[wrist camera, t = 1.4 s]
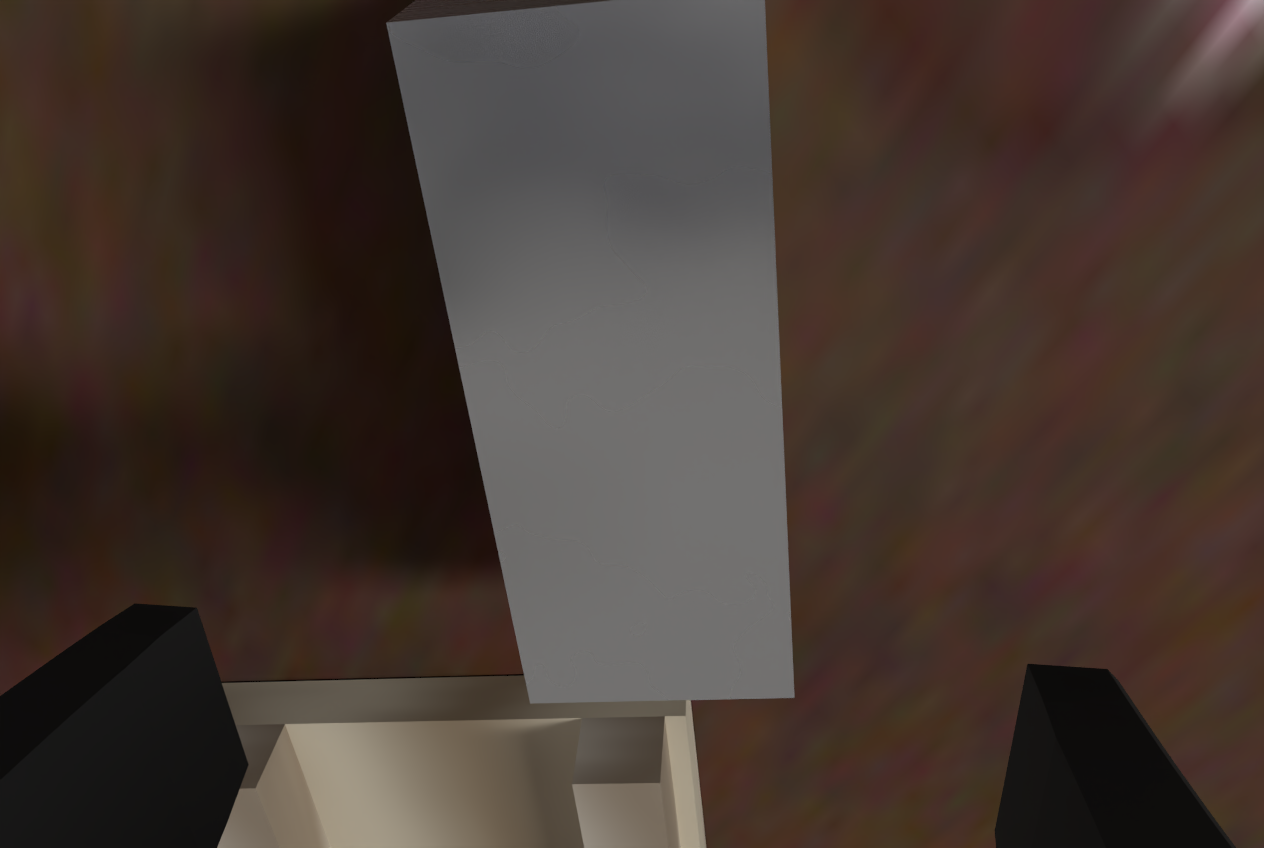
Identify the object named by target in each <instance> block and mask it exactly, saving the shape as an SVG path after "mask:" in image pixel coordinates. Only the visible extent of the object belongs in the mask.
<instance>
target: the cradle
mask: <svg viewBox="0 0 1264 848" xmlns="http://www.w3.org/2000/svg"><path fill="white" fill-rule="evenodd" d="M222 686H223V689H224V692H225V695H226V698H227V701H228V704H229V707H230V710H231V713H232V716H233V719H234V722H235V725H236V728H237V731H238V734H239V737H240V740H241V743H242V746H243V749H244V752H245V755H246V758H247V761H248V764H249V765H248V768H247V770H246V773H245V776H244V779H243V781H242V784H241V787H240V789H239V792H238V795H237V798H236V800H235V803H234V806H233V808H232V811H231V814H230V817H229V819H228V822H227V825H226V827H225V830H224V832H223V834H222V837H221V839H220V842H219V844H218V847H217V848H706V839H705V830H704V821H703V811H702V802H701V793H700V783H699V774H698V765H697V755H696V746H695V737H694V727H693V718H692V709H691V700H669V701H624V702H578V703H533V704H530V700H529V696H528V691H527V686H526V681H525V677H524V675H520V676H481V677H441V678H401V679H362V680H322V681H282V682H243V683H222Z"/></svg>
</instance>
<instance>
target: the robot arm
mask: <svg viewBox="0 0 1264 848" xmlns="http://www.w3.org/2000/svg"><path fill="white" fill-rule="evenodd" d="M248 765H249V764H248V761H247V758H246V755H245V752H244V749H243V746H242V743H241V740H240V737H239V734H238V731H237V728H236V725H235V722H234V719H233V716H232V713H231V710H230V707H229V704H228V701H227V698H226V695H225V692H224V689H223V686H222V683H221V680H220V677H219V673H218V670H217V667H216V664H215V661H214V658H213V655H212V652H211V649H210V646H209V643H208V640H207V637H206V634H205V631H204V628H203V625H202V622H201V619H200V616H199V613H198V610H197V608H192V607H177V606H162V605H147V604H134V605H132V606H130V607H129V608H127V609H126V610H124V611H123V612H121V613H119V614H118V615H116V616H115V617H113V618H112V619H110V620H108V621H107V622H105V623H104V624H102V625H101V626H100V627H98V628H97V629H95V630H94V631H92V632H91V633H89V634H88V635H86V636H85V637H83V638H82V639H81V640H79V641H78V642H76V643H75V644H73V645H72V646H70V647H69V648H68V649H66V650H65V651H63V652H62V653H60V654H59V655H58V656H56V657H55V658H53V659H52V660H50V661H49V662H48V663H46V664H45V665H43V666H42V667H41V668H39V669H38V670H36V671H35V672H34V673H32V674H31V675H29V676H28V677H27V678H25V679H24V680H22V681H21V682H20V683H18V684H17V685H15V686H14V687H12V688H11V689H10V690H8V691H7V692H5V693H4V694H3V695H1V696H0V848H217V847H218V844H219V842H220V839H221V837H222V834H223V832H224V830H225V827H226V825H227V822H228V819H229V817H230V814H231V811H232V808H233V806H234V803H235V800H236V798H237V795H238V792H239V789H240V787H241V784H242V781H243V779H244V776H245V773H246V770H247V768H248ZM995 838H996V848H1236V847H1235V846H1234V844H1233V843H1232V842H1231V840H1230V839H1229V838H1228V836H1227V835H1226V834H1225V832H1224V831H1223V830H1222V828H1221V827H1220V826H1219V824H1218V823H1217V822H1216V820H1215V819H1214V817H1213V816H1212V815H1211V813H1210V812H1209V810H1208V809H1207V808H1206V806H1205V805H1204V803H1203V802H1202V801H1201V799H1200V798H1199V797H1198V795H1197V794H1196V792H1195V791H1194V790H1193V788H1192V787H1191V785H1190V784H1189V783H1188V781H1187V780H1186V778H1185V777H1184V776H1183V774H1182V773H1181V771H1180V770H1179V769H1178V767H1177V766H1176V764H1175V763H1174V761H1173V760H1172V759H1171V757H1170V756H1169V754H1168V753H1167V751H1166V750H1165V749H1164V747H1163V746H1162V744H1161V743H1160V741H1159V740H1158V738H1157V737H1156V736H1155V734H1154V733H1153V731H1152V730H1151V728H1150V727H1149V725H1148V724H1147V722H1146V721H1145V719H1144V718H1143V716H1142V715H1141V714H1140V712H1139V711H1138V709H1137V708H1136V706H1135V705H1134V703H1133V702H1132V700H1131V699H1130V697H1129V696H1128V694H1127V693H1126V691H1125V690H1124V688H1123V687H1122V685H1121V684H1120V682H1119V681H1118V680H1117V679H1116V678H1115V677H1114V676H1113V675H1112V674H1111V673H1110V671H1109V670H1108V669H1096V668H1081V667H1067V666H1052V665H1037V664H1028V665H1027V670H1026V675H1025V680H1024V685H1023V690H1022V695H1021V700H1020V706H1019V711H1018V716H1017V721H1016V726H1015V731H1014V736H1013V741H1012V746H1011V751H1010V756H1009V762H1008V767H1007V772H1006V777H1005V782H1004V787H1003V792H1002V797H1001V802H1000V807H999V812H998V818H997V823H996V828H995Z"/></svg>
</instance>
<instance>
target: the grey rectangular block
mask: <svg viewBox="0 0 1264 848" xmlns="http://www.w3.org/2000/svg"><path fill="white" fill-rule="evenodd" d="M386 24H387V29H388V34H389V39H390V43H391V48H392V53H393V58H394V62H395V67H396V72H397V76H398V81H399V86H400V91H401V95H402V100H403V105H404V110H405V114H406V119H407V124H408V128H409V133H410V138H411V143H412V147H413V152H414V157H415V162H416V166H417V171H418V176H419V180H420V185H421V190H422V195H423V199H424V204H425V209H426V214H427V218H428V223H429V228H430V232H431V237H432V242H433V247H434V251H435V256H436V261H437V266H438V270H439V275H440V280H441V284H442V289H443V294H444V299H445V303H446V308H447V313H448V318H449V322H450V327H451V332H452V336H453V341H454V346H455V351H456V355H457V360H458V365H459V370H460V374H461V379H462V384H463V388H464V393H465V398H466V403H467V407H468V412H469V417H470V422H471V426H472V431H473V436H474V440H475V445H476V450H477V455H478V459H479V464H480V469H481V474H482V478H483V483H484V488H485V492H486V497H487V502H488V507H489V511H490V516H491V521H492V526H493V530H494V535H495V540H496V544H497V549H498V554H499V559H500V563H501V568H502V573H503V577H504V582H505V587H506V592H507V596H508V601H509V606H510V611H511V615H512V620H513V625H514V629H515V634H516V639H517V644H518V648H519V653H520V658H521V663H522V667H523V672H524V677H525V681H526V686H527V691H528V696H529V700H530V704H533V703H578V702H624V701H669V700H714V699H760V698H794V677H793V654H792V631H791V607H790V584H789V560H788V537H787V513H786V490H785V466H784V443H783V419H782V396H781V372H780V349H779V325H778V302H777V278H776V255H775V231H774V208H773V184H772V161H771V137H770V114H769V90H768V67H767V43H766V20H765V0H415V1H414V2H412V3H411V4H410V5H409V6H407V7H406V8H405V9H403V10H402V11H401V12H399V13H398V14H397V15H396V16H394V17H393V18H392V19H390V20H389V21H388V22H387V23H386Z"/></svg>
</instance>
